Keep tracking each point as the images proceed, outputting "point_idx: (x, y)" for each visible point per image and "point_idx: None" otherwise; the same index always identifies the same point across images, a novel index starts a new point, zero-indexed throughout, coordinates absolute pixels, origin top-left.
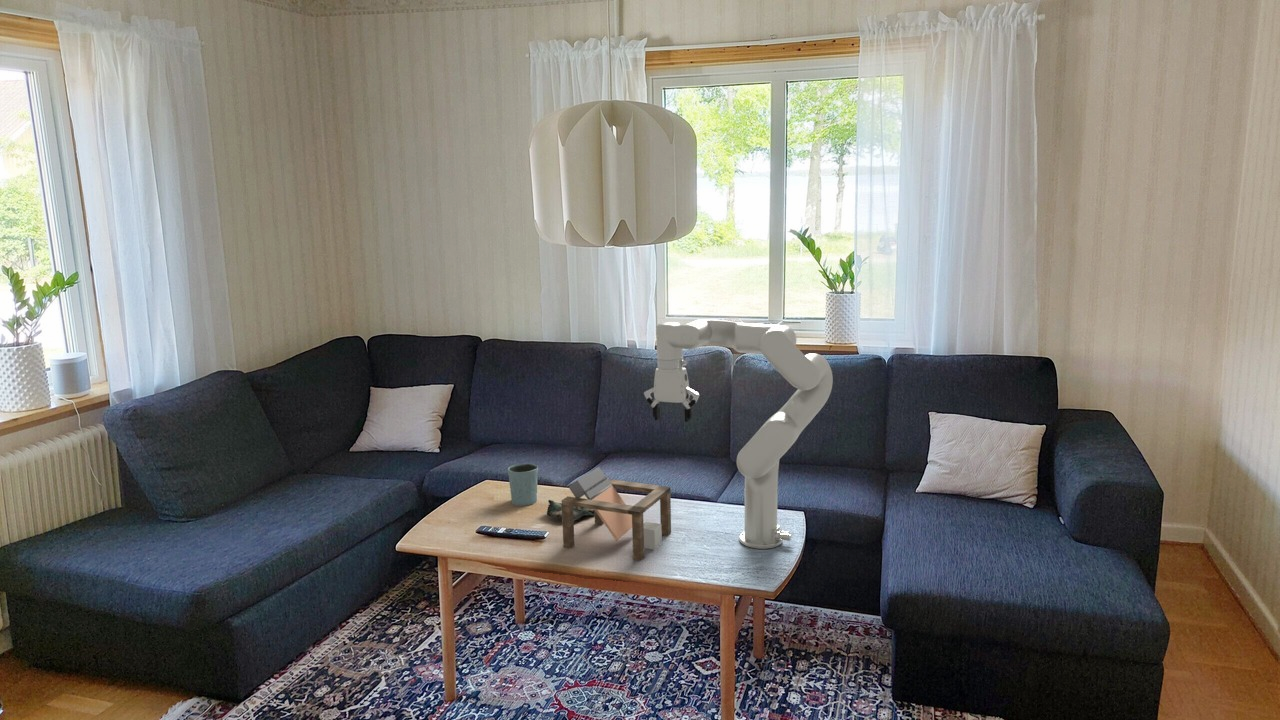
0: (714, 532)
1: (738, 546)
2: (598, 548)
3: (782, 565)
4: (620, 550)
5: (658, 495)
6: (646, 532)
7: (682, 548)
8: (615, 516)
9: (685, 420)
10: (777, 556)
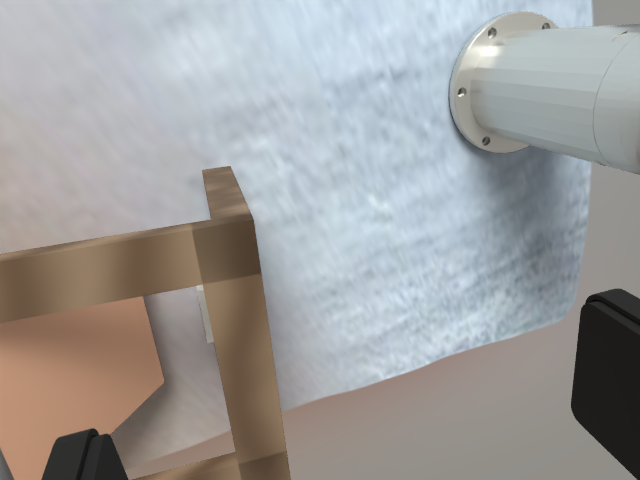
0: (359, 90)
1: (459, 156)
2: None
3: (580, 207)
4: (170, 356)
5: (264, 334)
6: None
7: (323, 251)
8: (100, 369)
9: (595, 431)
10: (563, 164)
